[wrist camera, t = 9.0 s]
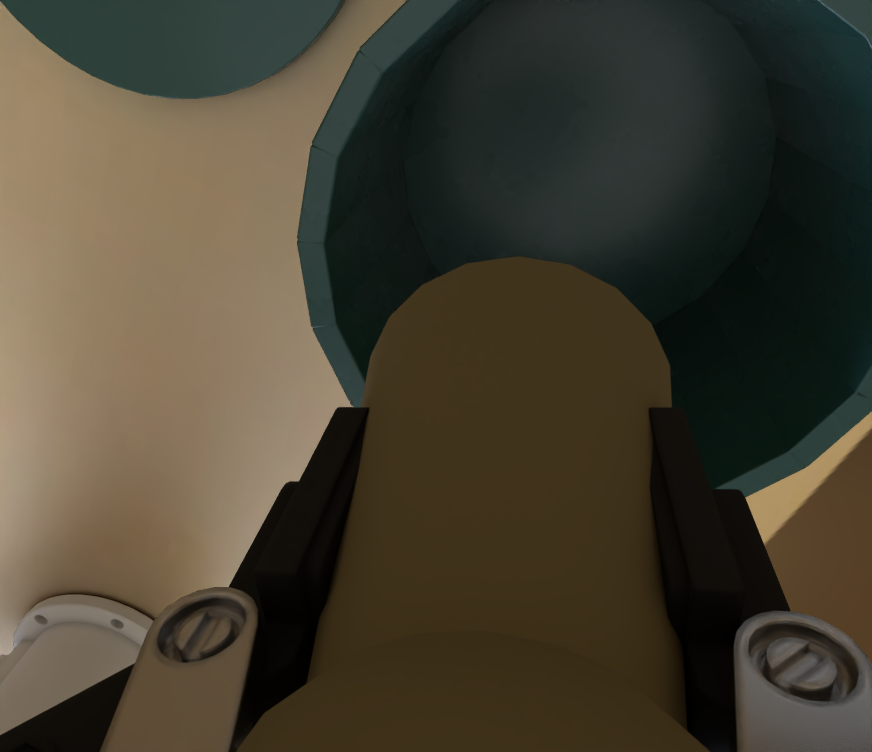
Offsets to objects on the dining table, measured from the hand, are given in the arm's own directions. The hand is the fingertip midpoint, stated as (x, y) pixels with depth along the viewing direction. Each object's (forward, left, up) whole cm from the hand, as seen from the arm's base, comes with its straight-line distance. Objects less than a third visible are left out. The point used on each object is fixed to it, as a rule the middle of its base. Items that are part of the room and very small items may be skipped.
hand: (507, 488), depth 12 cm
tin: (+2, 0, -22) cm, 22 cm away
